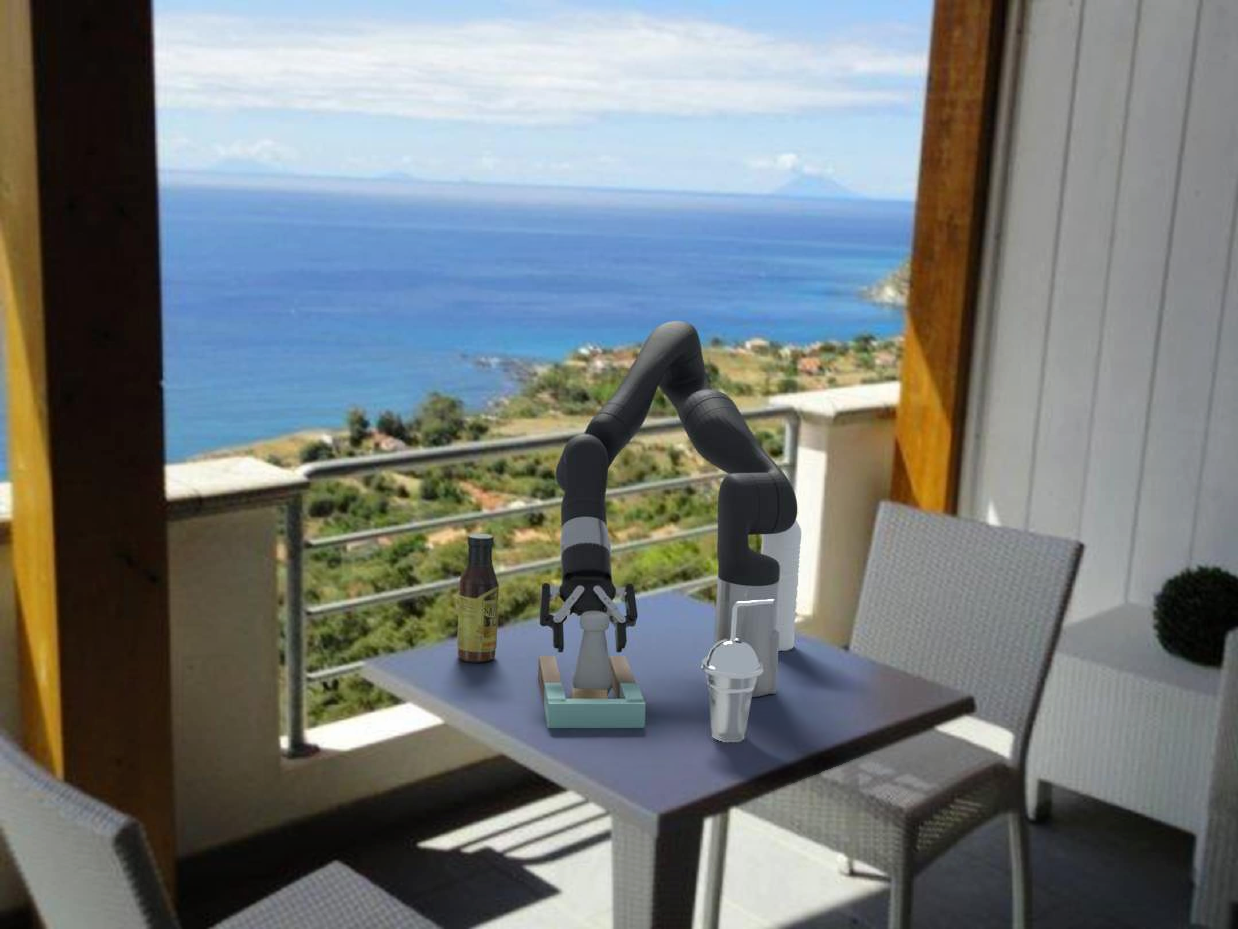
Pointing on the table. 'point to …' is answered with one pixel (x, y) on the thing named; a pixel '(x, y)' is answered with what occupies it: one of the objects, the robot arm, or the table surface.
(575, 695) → the block
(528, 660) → the table surface
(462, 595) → the sauce bottle
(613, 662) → the slot
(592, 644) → the salt shaker
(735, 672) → the cup with straw
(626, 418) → the robot arm
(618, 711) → the teal u-shaped block
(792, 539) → the water bottle
